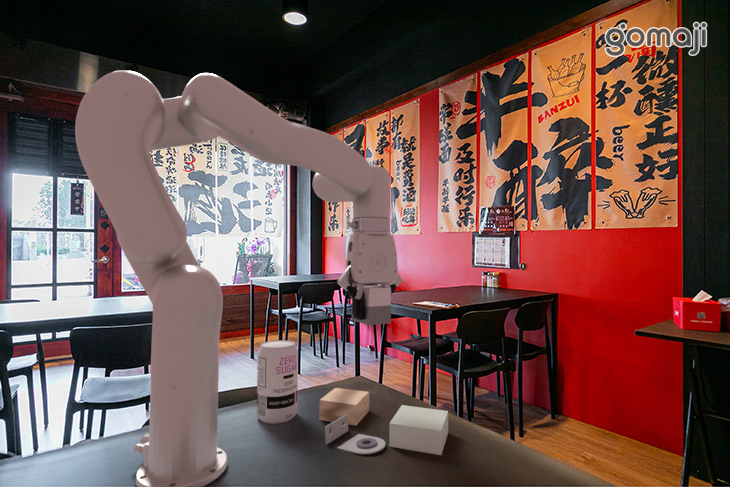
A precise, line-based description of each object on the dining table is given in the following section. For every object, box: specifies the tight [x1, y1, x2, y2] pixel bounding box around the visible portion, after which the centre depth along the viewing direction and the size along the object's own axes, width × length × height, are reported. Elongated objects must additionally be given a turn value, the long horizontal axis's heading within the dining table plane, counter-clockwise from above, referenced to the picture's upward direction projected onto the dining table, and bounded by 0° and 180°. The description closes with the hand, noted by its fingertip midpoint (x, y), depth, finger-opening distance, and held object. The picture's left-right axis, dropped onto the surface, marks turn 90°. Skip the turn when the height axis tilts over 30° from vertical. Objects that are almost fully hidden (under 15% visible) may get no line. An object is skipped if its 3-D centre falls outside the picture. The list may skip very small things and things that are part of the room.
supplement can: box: [256, 339, 299, 425], centre depth 80 cm, size 8×8×15 cm
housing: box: [351, 285, 392, 326], centre depth 78 cm, size 7×5×7 cm
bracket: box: [324, 415, 386, 455], centre depth 68 cm, size 7×10×4 cm, turn 57°
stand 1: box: [318, 387, 370, 426], centre depth 81 cm, size 8×8×4 cm
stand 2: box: [388, 404, 449, 456], centre depth 70 cm, size 9×9×4 cm
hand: (370, 317), depth 78 cm, fingers closed on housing, 5 cm apart
